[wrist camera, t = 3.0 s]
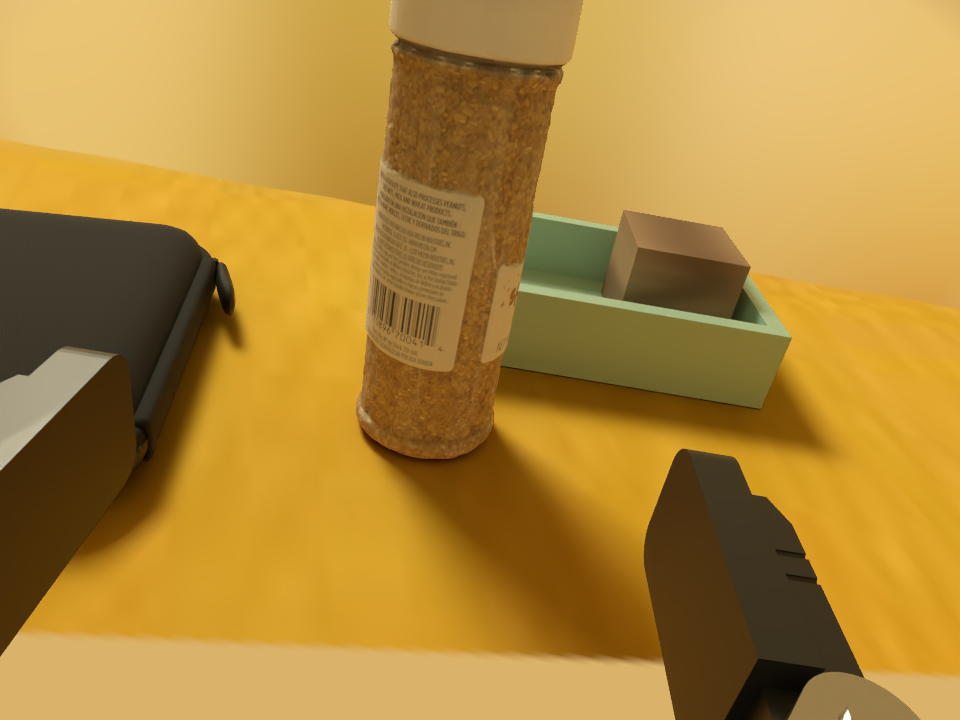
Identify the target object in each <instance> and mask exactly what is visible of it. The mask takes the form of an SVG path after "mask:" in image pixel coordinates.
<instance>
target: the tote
mask: <svg viewBox="0 0 960 720" xmlns="http://www.w3.org/2000/svg"><path fill="white" fill-rule="evenodd" d="M618 228H619V227H614V226H610V225H604V224H598V223H593V222H586V221H581V220H576V219H570V218H564V217H558V216H553V215H547V214H542V213H536V212H533V216H532V223H531V229H530V234H529V239H528V244H527V249H526V254H525V259H524V264H523V269H522V274H521V279H520V285H519V290H518V295H517V300H516V305H515V310H514V315H513V320H512V325H511V330H510V334H509V339H508V344H507V346H506V349H505V350H504V354H503V358H502V362H501V366H506V367H512V368H518V369H524V370H530V371H536V372H542V373H548V374H554V375H560V376H566V377H572V378H578V379H584V380H590V381H596V382H602V383H608V384H614V385H620V386H626V387H632V388H638V389H644V390H650V391H656V392H662V393H668V394H674V395H680V396H686V397H692V398H698V399H704V400H710V401H716V402H722V403H728V404H734V405H740V406H746V407H752V408H758V409H761V407H762V405H763V402H764V400H765V398H766V396H767V393H768V391H769V389H770V387H771V384H772V382H773V380H774V377H775V375H776V373H777V371H778V368H779V366H780V364H781V362H782V359H783V357H784V355H785V352H786V350H787V348H788V346H789V343H790V341H791V339H792V337H791V336H790V334H789V333H788V331H787V330H786V329H785V327H784V326H783V324H782V323H781V321H780V320H779V318H778V317H777V316H776V314H775V313H774V311H773V310H772V308H771V307H770V306H769V304H768V303H767V301H766V300H765V298H764V297H763V295H762V294H761V293H760V291H759V290H758V288H757V287H756V285H755V284H754V282H753V281H752V280H751V278H750V277H749V275H747V278H746V280H745V283H744V286H743V288H742V291H741V293H740V296H739V299H738V301H737V304H736V306H735V309H734V312H733V314H732V317H731V319H725V318H719V317H713V316H708V315H702V314H696V313H690V312H684V311H679V310H673V309H667V308H661V307H655V306H650V305H644V304H638V303H632V302H626V301H621V300H615V299H609V298H603V297H602V293H601V290H602V286H603V283H604V279H605V275H606V272H607V268H608V264H609V261H610V257H611V254H612V250H613V246H614V243H615V239H616V236H617V232H618Z"/></svg>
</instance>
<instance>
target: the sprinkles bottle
mask: <svg viewBox="0 0 960 720" xmlns="http://www.w3.org/2000/svg"><path fill="white" fill-rule="evenodd" d="M582 4H583V0H391V10H390V21H389V27H390V30H391V32H392V33H393V34H395V36H396V37H398V40H396V41H395V42H394V44H392V45H391V49H392V52H393V58H394V59H393V61H394V62H393V69H392V72H393V74H392V78H391V83H390V96H389V110H388V114H387V126H386V138H385V149H384V153H383V155H382V157H381V163H380V174H379V184H378V194H377V205H376V215H375V226H374V237H373V247H372V257H371V268H370V280H369V291H368V303H367V314H366V330H367V333H368V334H367V343H366V354H365V365H364V373H363V374H364V378H363V387H362V391H361V392H360V394H359V397H358V399H357V405H356V412H357V417H358V421H359V423H360V425H361V427H362V428H363V429H364V431H365V432H366V433H367V434H368V435H369V436H370V437H371V438H372V439H374V440H376V441H377V442H378V443H380V444H381V445H383V446H385V447H387V448H389V449H391V450H394V451H396V452H398V453H401V454H403V455H407V456H411V457H415V458H422V459H445V458H455V457H457V456H459V455H462V454H467V453H469V452H470V451H472V450H474V449H475V448H476V447H477V446H478V445H480V444H481V443H483V442H484V441H485V439H486V438H487V437H488V435H489V434H490V432H491V430H492V426H493V422H494V411H493V405H494V398H495V394H496V388H497V384H498V379H499V374H500V366H501V362H502V358H503V354H504V350H505V349H506V346H507V344H508V339H509V334H510V330H511V325H512V320H513V315H514V310H515V305H516V300H517V295H518V290H519V285H520V279H521V274H522V269H523V264H524V259H525V254H526V249H527V244H528V239H529V234H530V229H531V223H532V216H533V201H534V198H535V192H536V186H537V181H538V177H539V174H540V171H541V164H542V159H543V154H544V149H545V143H546V140H547V132H548V129H549V126H550V118H551V117H550V116H551V112H552V107H553V105H554V99H555V92H556V89H557V87H558V85H559V84H560V83H561V81H562V77H563V70H562V68H561V67H562V66H563V65H565V64H567V63H568V62H570V60H571V58H572V55H573V50H574V45H575V40H576V35H577V30H578V25H579V20H580V14H581V9H582Z"/></svg>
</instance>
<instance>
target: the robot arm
mask: <svg viewBox="0 0 960 720" xmlns="http://www.w3.org/2000/svg"><path fill="white" fill-rule="evenodd" d="M135 454H136V433H135V422H134V412H133V401H132V390H131V379H130V370H129V365H128V362H127V360H126V359H125V357H123V356H122V355H118V354H111V353H105V352H99V351H93V350H87V349H81V348H75V347H69V346H67V347H63V348H61V349H59V350H58V351H57V352H55V353H54V354H53V355H52V356H51V357H50V358H49V359H47V360H46V361H45V362H44V363H43V364H42V365H41V366H40V367H38V368H37V369H36V370H35V371H34V372H33V373H32V374H31V375H29V376H25V375H16V376H14V377H12V378H10V379H7V380H5V381H3V382H1V383H0V656H1V655H2V653H3V652H4V651H5V649H6V648H7V646H8V645H9V644H10V642H11V641H12V640H13V638H14V637H15V636H16V634H17V633H18V631H19V630H20V629H21V627H22V626H23V624H24V623H25V622H26V620H27V619H28V618H29V616H30V615H31V613H32V612H33V611H34V609H35V608H36V607H37V605H38V604H39V602H40V601H41V600H42V598H43V597H44V596H45V594H46V593H47V591H48V590H49V589H50V587H51V586H52V585H53V583H54V582H55V580H56V579H57V578H58V576H59V575H60V573H61V572H62V571H63V569H64V568H65V567H66V565H67V564H68V562H69V561H70V560H71V558H72V557H73V556H74V554H75V553H76V551H77V550H78V549H79V547H80V546H81V545H82V543H83V542H84V540H85V539H86V538H87V536H88V535H89V534H90V532H91V531H92V529H93V528H94V527H95V525H96V524H97V522H98V521H99V520H100V518H101V517H102V516H103V514H104V513H105V511H106V510H107V509H108V507H109V506H110V505H111V503H112V502H113V500H114V499H115V498H116V496H117V495H118V494H119V492H120V491H121V489H122V488H123V487H124V485H125V483H126V482H127V480H128V478H129V475H130V473H131V470H132V467H133V464H134V460H135ZM805 555H806V553H805V551H804V549H803V547H802V545H801V543H800V541H799V538H798V536H797V534H796V532H795V530H794V528H793V526H792V524H791V523H790V522H789V521H788V520H787V519H786V518H785V517H784V516H783V515H782V513H781V512H780V511H779V510H778V509H777V508H776V507H775V506H774V505H773V504H772V503H771V502H770V501H769V500H768V499H767V498H766V497H763V496H756V495H752V494H751V491H750V489H749V487H748V484H747V482H746V480H745V477H744V475H743V473H742V470H741V468H740V466H739V463H738V462H737V460H736V459H735V458H734V457H731V456H725V455H719V454H712V453H706V452H700V451H694V450H688V449H681V450H680V451H679V452H678V453H677V454H676V456H675V458H674V460H673V462H672V465H671V468H670V470H669V473H668V475H667V478H666V481H665V483H664V486H663V489H662V491H661V494H660V496H659V499H658V502H657V504H656V507H655V509H654V512H653V515H652V517H651V520H650V523H649V525H648V529H647V533H646V538H645V545H644V566H645V572H646V577H647V582H648V587H649V592H650V596H651V601H652V606H653V611H654V616H655V621H656V626H657V631H658V636H659V641H660V646H661V651H662V656H663V660H664V665H665V670H666V675H667V680H668V685H669V690H670V695H671V700H672V704H673V710H674V715H675V719H676V720H920V719H919V718H918V717H917V715H916V714H914V712H913V711H912V710H911V709H910V708H909V707H908V706H907V705H905V704H904V703H903V702H902V701H901V700H900V699H898V698H897V697H896V696H894V695H893V694H892V693H890V692H889V691H887V690H886V689H884V688H882V687H881V686H879V685H877V684H875V683H874V682H871V681H869V680H867V679H865V678H864V676H863V674H862V672H861V670H860V668H859V666H858V664H857V661H856V659H855V657H854V655H853V653H852V651H851V649H850V647H849V644H848V642H847V640H846V638H845V636H844V634H843V632H842V630H841V628H840V625H839V623H838V621H837V619H836V617H835V615H834V613H833V611H832V608H831V606H830V604H829V602H828V600H827V598H826V596H825V594H824V591H823V589H822V587H821V585H817V577H816V575H815V572H814V570H813V568H812V566H811V564H810V562H809V560H806V559H805Z"/></svg>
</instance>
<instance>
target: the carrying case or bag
mask: <svg viewBox="0 0 960 720" xmlns="http://www.w3.org/2000/svg"><path fill="white" fill-rule="evenodd" d="M216 286H217V291H218V295H219V299H220V302H221V305H222V308H223V310H224V312H225V313H226V314H227V315H229V316H230V315H231V314H232V313H233V311H234V307H235V293H234V288H233V284H232V281H231V278H230V275H229V272H228V269H227V267H226V265H225V264H224V263H222V262H221V263H219V262H218V259H216V258H211V256H210V254H209V253H208V252H207V251H206V250H205V249H204V248H202V247H201V246H199V245H198V243H197V242H196V240H195V239H194V238H193V237H192V236H191V235H189V234H188V233H187V232H186V231H184V230H181V229H178V228H175V227H172V226H168V225H162V224H152V223H142V222H132V221H122V220H112V219H102V218H91V217H81V216H71V215H61V214H51V213H41V212H31V211H21V210H10V209H0V383H1V382H3V381H5V380H7V379H10V378H12V377H14V376H16V375H25V376H29V375H31V374H32V373H33V372H34V371H35V370H36V369H37V368H38V367H40V366H41V365H42V364H43V363H44V362H45V361H46V360H47V359H49V358H50V357H51V356H52V355H53V354H54V353H55V352H57V351H58V350H59V349H61V348H63V347H67V346H69V347H75V348H81V349H87V350H93V351H99V352H105V353H111V354H118V355H122V356H123V357H125V359H126V360H127V362H128V365H129V370H130V379H131V390H132V401H133V412H134V422H135V433H136V454H135V460H134V464H133V467H132V470H131V472H132V471H133V470H134V469H135V468H136V467H137V466H138V465H139V464H140V462H141V461H142V460H143V461H148V460H150V459H151V458H152V457H153V452H154V447H155V444H156V441H157V439H158V436H159V433H160V431H161V428H162V425H163V423H164V420H165V418H166V415H167V412H168V410H169V407H170V405H171V402H172V399H173V397H174V394H175V391H176V389H177V386H178V384H179V381H180V378H181V376H182V373H183V371H184V368H185V365H186V363H187V360H188V357H189V355H190V352H191V350H192V347H193V344H194V342H195V339H196V337H197V334H198V331H199V329H200V326H201V323H202V321H203V318H204V316H205V313H206V310H207V308H208V305H209V303H210V300H211V297H212V295H213V292H214V290H215V287H216Z"/></svg>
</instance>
